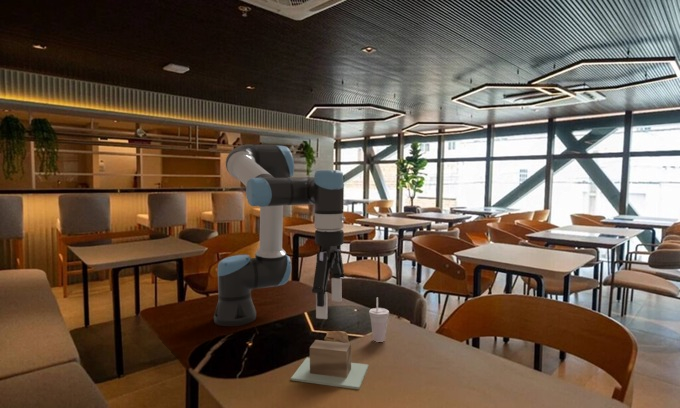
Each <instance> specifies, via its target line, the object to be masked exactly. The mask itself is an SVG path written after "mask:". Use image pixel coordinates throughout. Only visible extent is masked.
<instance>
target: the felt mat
mask: <svg viewBox="0 0 680 408" xmlns="http://www.w3.org/2000/svg"><path fill="white" fill-rule="evenodd" d="M368 368H369V364H368V363H367V364H366V363H359V362H358V363H357V362H351V370H350V372H349V374H348V376H347V378H343V377H335V376H327V375H319V374H311V373H310V357H308V356H306V357H305V359H304V360H303V362H302V363H301V364H300V365H299V367H298V368H297V369H296V371H295V372H294V373H293V375H292V376H291V377H290V380H291V381H293V382H301V383H308V384H309V383H310V384H313V385H314V384H316V385H322V386H323V385H324V386H329V387H337V388H345V389H352V390H360V388H361V387H362V386H361V385H362V383H363V380H364V378H365V375H366V374H367V371H368Z"/></svg>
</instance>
